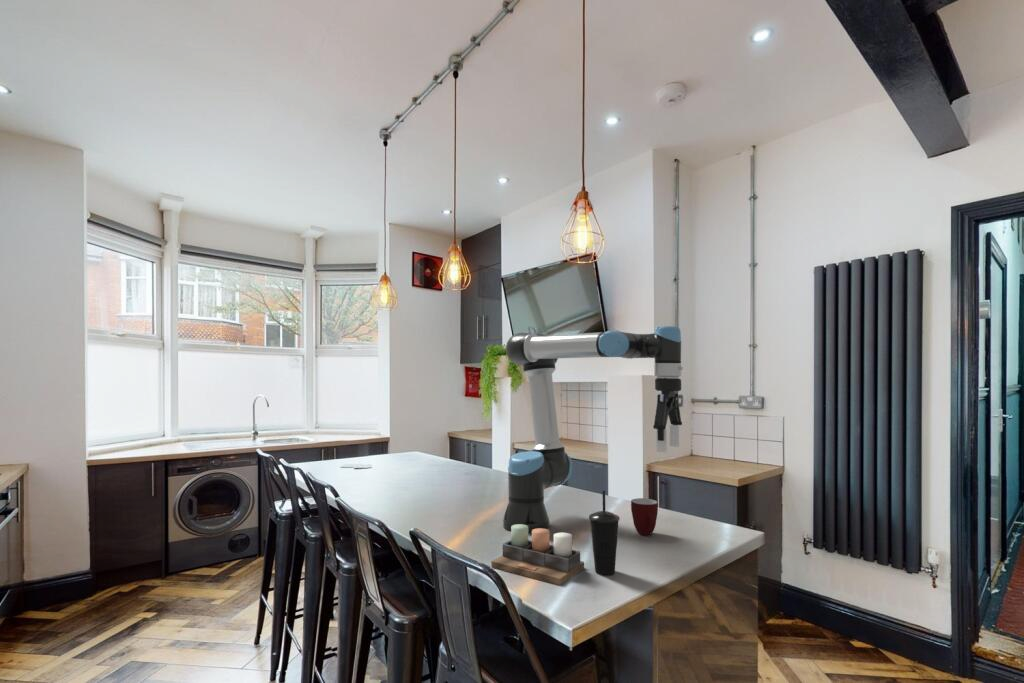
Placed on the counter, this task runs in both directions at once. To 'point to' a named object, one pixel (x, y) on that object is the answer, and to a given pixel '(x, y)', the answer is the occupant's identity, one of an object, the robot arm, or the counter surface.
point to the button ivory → (563, 545)
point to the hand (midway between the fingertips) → (668, 449)
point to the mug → (644, 515)
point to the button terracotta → (540, 540)
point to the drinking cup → (604, 540)
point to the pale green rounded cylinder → (519, 535)
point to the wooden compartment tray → (538, 563)
